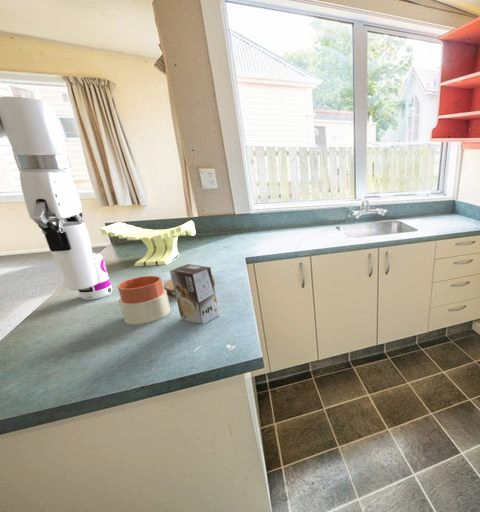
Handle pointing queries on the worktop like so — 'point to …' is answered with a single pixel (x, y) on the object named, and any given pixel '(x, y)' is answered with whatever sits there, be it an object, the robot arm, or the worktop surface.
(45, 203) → the robot arm
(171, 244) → the slatted curved stool
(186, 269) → the coffee box
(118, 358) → the worktop surface
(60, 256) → the white tumbler
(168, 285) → the brown flat disc
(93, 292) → the supplement can
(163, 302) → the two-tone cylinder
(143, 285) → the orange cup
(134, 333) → the worktop surface
